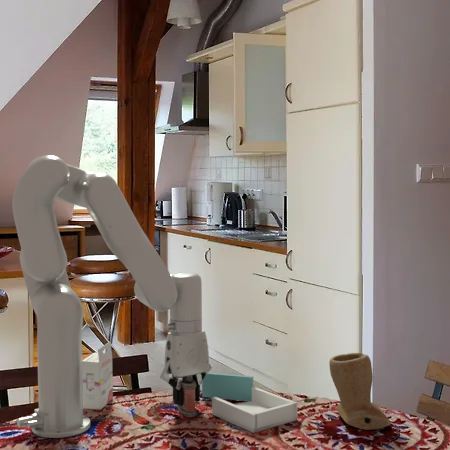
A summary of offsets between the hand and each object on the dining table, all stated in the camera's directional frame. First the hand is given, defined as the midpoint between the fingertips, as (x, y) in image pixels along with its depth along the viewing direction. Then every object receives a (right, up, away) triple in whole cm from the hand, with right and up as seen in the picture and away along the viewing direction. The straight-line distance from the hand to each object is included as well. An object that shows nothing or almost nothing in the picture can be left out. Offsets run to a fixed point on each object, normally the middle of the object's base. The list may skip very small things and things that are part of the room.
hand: (186, 401), depth 164 cm
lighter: (0, -2, 0) cm, 2 cm away
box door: (+10, -1, +8) cm, 13 cm away
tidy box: (+16, -3, -4) cm, 17 cm away
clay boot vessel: (+39, -3, -6) cm, 40 cm away
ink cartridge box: (-22, -2, +6) cm, 23 cm away
